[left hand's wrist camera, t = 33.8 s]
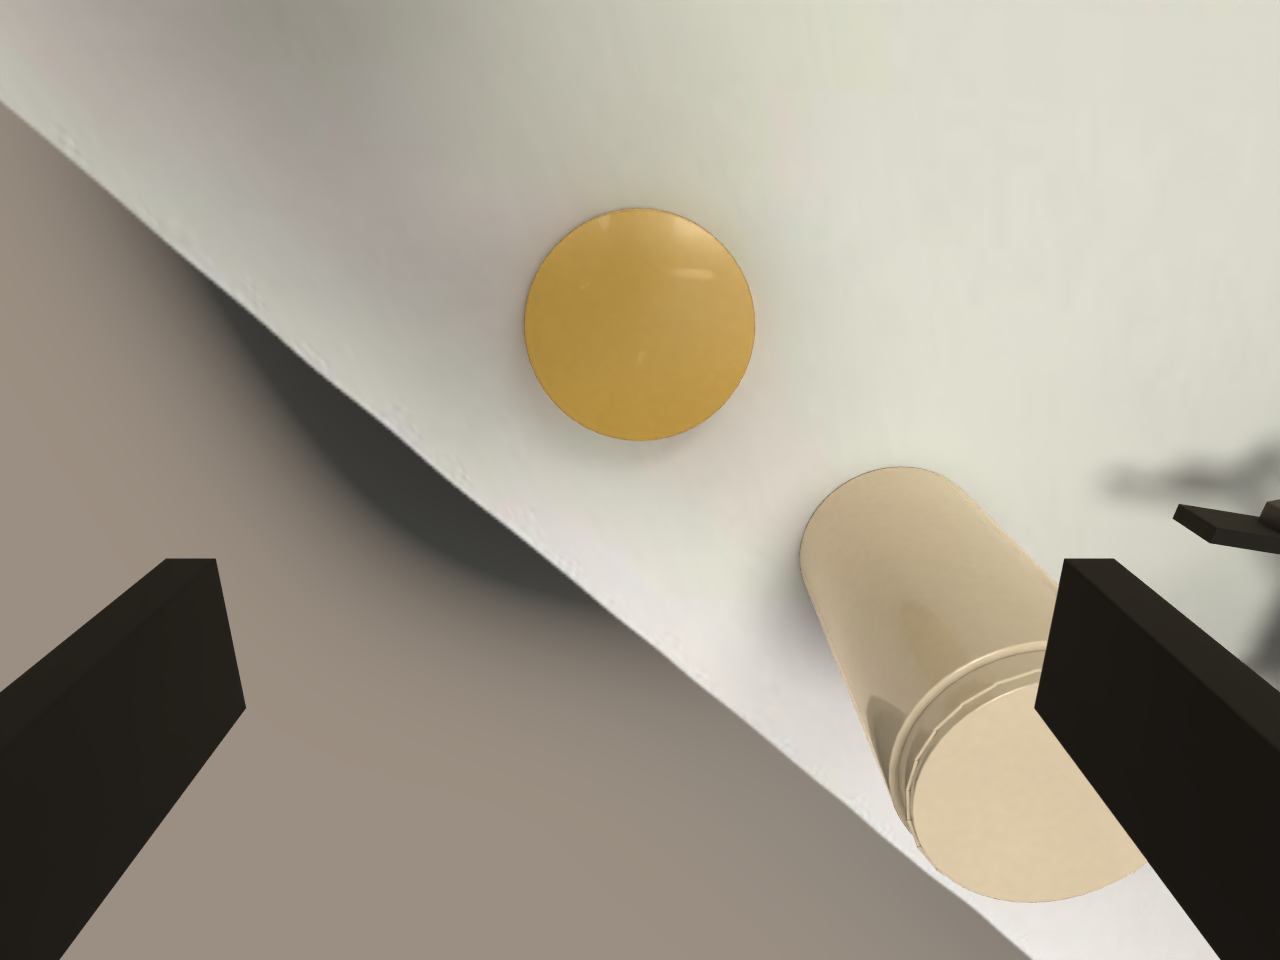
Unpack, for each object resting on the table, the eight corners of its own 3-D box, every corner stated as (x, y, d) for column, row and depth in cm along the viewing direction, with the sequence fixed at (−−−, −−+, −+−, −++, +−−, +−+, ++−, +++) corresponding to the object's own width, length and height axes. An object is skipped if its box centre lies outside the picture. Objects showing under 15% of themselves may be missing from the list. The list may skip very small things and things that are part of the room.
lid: (522, 417, 42) (517, 428, 41) (536, 194, 39) (532, 195, 37) (732, 440, 43) (735, 452, 41) (767, 222, 39) (773, 224, 37)
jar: (762, 568, 46) (840, 821, 28) (885, 430, 43) (1061, 611, 25) (895, 661, 48) (1047, 951, 30) (1021, 535, 45) (1273, 772, 27)
